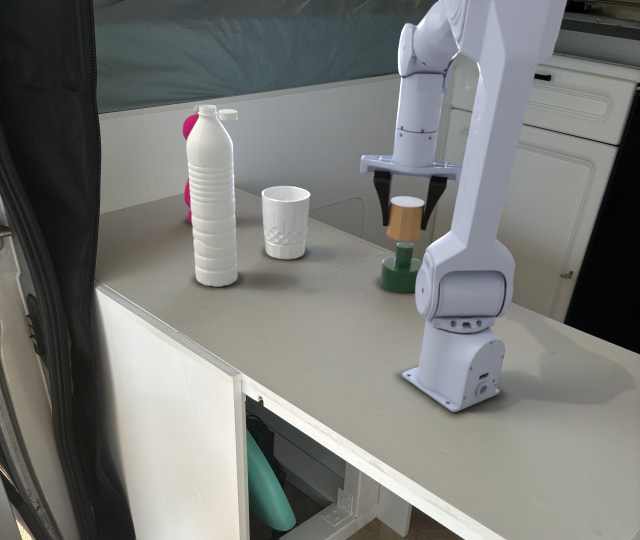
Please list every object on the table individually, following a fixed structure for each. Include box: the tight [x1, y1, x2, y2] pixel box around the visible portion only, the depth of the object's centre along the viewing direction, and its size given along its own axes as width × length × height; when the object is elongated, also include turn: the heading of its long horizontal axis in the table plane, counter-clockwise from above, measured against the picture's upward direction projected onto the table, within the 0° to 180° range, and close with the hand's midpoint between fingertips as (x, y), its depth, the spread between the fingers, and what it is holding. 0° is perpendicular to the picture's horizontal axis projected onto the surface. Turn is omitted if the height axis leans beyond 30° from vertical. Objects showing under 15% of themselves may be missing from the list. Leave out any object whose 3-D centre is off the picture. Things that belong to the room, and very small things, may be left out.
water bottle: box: [185, 104, 239, 288], centre depth 95 cm, size 9×6×25 cm
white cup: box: [261, 185, 311, 260], centre depth 110 cm, size 8×8×10 cm
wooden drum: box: [385, 195, 426, 242], centre depth 97 cm, size 5×5×5 cm
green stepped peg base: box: [379, 241, 423, 294], centre depth 102 cm, size 6×6×6 cm
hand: (404, 225), depth 97 cm, fingers closed on wooden drum, 5 cm apart
